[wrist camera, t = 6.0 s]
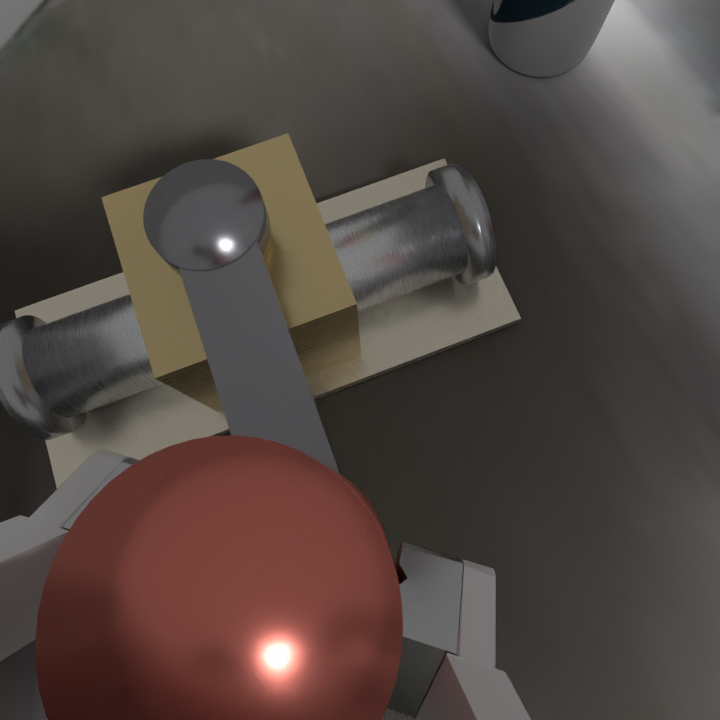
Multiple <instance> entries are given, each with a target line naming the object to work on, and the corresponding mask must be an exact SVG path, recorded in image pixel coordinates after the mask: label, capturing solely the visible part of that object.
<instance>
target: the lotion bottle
mask: <svg viewBox="0 0 720 720" xmlns="http://www.w3.org/2000/svg"><path fill="white" fill-rule="evenodd" d="M614 1H615V0H494V1H493V5H492V10H491V15H490V20H489V41H490V44H491V47H492V49H493V51H494V52H495V54H496V55H497V57H498V58H499V59H500V60H501V61H502V62H503V63H504V64H505V65H506V66H508V67H509V68H511V69H513V70H514V71H516V72H519V73H521V74H524V75H528V76H534V77H550V76H555V75H559V74H562V73H564V72H567V71H569V70H571V69H572V68H574V67H575V66H576V65H578V64H579V63H580V62H581V61H582V60H583V58H584V57H585V56H586V54H587V53H588V51H589V50H590V48H591V46H592V44H593V43H594V41H595V39H596V37H597V35H598V33H599V31H600V29H601V27H602V25H603V23H604V21H605V19H606V17H607V15H608V13H609V11H610V9H611V7H612V5H613V3H614Z"/></svg>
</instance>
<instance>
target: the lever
mask: <svg viewBox="0 0 720 720" xmlns="http://www.w3.org/2000/svg"><path fill="white" fill-rule="evenodd" d="M143 224H144V229H145V233H146V236H147V238H148V240H149V242H150V244H151V245H152V247H153V248H154V249H155V251H156V252H157V253H158V254H159V255H160V256H161V257H162V258H163V260H164V261H165V262H166V263H167V264H168V265H169V266H170V267H171V268H172V269H173V270H174V271H175V272H176V273H177V274H179V275H180V276H181V277H182V280H183V283H184V287H185V290H186V293H187V296H188V299H189V303H190V306H191V309H192V312H193V315H194V318H195V322H196V325H197V328H198V331H199V334H200V338H201V341H202V344H203V347H204V350H205V353H206V357H207V360H208V363H209V366H210V369H211V373H212V376H213V379H214V382H215V385H216V388H217V392H218V395H219V398H220V401H221V404H222V408H223V411H224V414H225V417H226V420H227V423H228V427H229V430H230V433H231V435H229V436H210V437H204V438H198V439H192V440H188V441H185V442H182V443H178V444H175V445H172V446H169V447H166V448H164V449H162V450H159V451H157V452H155V453H153V454H150V455H148V456H147V457H145V458H143V459H142V460H140V461H138V462H137V463H135V464H133V465H131V466H130V467H128V468H127V469H126V470H124V471H123V472H122V473H120V474H119V475H118V476H117V477H115V478H114V479H113V480H111V481H110V482H109V483H108V484H107V485H106V486H105V487H104V488H103V489H102V490H101V491H100V492H99V493H98V494H97V495H96V496H95V497H94V498H93V499H92V500H91V501H90V502H89V503H88V505H87V506H86V507H85V508H84V510H83V511H82V512H81V513H80V515H79V516H78V517H77V518H76V520H75V522H74V523H73V525H72V526H71V528H70V530H69V531H68V533H67V534H66V536H65V537H64V539H63V541H62V543H61V545H60V547H59V549H58V551H57V553H56V556H55V558H54V560H53V562H52V564H51V567H50V570H49V573H48V576H47V579H46V582H45V585H44V588H43V592H42V597H41V601H40V606H39V610H38V618H37V627H36V637H35V646H36V669H37V677H38V684H39V691H40V694H41V698H42V702H43V705H44V709H45V713H46V716H47V719H48V720H382V718H383V715H384V713H385V711H386V709H387V707H388V704H389V701H390V698H391V695H392V692H393V688H394V685H395V682H396V678H397V673H398V668H399V663H400V658H401V650H402V637H403V614H402V599H401V593H400V587H399V581H398V576H397V573H396V569H395V566H394V563H393V559H392V556H391V552H390V549H389V546H388V543H387V539H386V536H385V533H384V529H383V526H382V523H381V520H380V517H379V514H378V512H377V510H376V508H375V506H374V504H373V503H372V501H371V500H370V498H369V497H368V496H367V495H366V493H365V492H364V491H362V490H361V489H360V488H359V487H358V486H357V485H355V484H354V483H353V482H351V481H350V480H348V479H347V478H345V477H343V476H342V474H341V472H340V469H339V466H338V463H337V461H336V458H335V455H334V452H333V449H332V447H331V444H330V441H329V438H328V435H327V433H326V430H325V427H324V424H323V421H322V419H321V416H320V413H319V410H318V407H317V405H316V402H315V399H314V396H313V393H312V391H311V388H310V385H309V382H308V379H307V377H306V374H305V371H304V368H303V366H302V363H301V360H300V357H299V354H298V352H297V349H296V346H295V343H294V340H293V338H292V335H291V332H290V329H289V326H288V324H287V321H286V318H285V315H284V312H283V310H282V307H281V304H280V301H279V298H278V296H277V293H276V290H275V287H274V284H273V282H272V279H271V276H270V273H269V270H268V268H267V265H266V262H265V259H264V257H263V254H264V252H265V250H266V248H267V246H268V242H269V239H270V232H271V225H270V218H269V215H268V212H267V209H266V206H265V204H264V201H263V198H262V196H261V193H260V191H259V188H258V186H257V185H256V183H255V182H254V180H253V179H252V178H251V177H250V176H249V175H248V174H247V173H246V172H245V171H244V170H242V169H241V168H239V167H238V166H236V165H233V164H231V163H228V162H225V161H221V160H215V159H201V160H194V161H191V162H187V163H184V164H182V165H179V166H177V167H176V168H174V169H172V170H171V171H169V172H168V173H166V174H165V175H164V176H163V177H162V178H161V179H160V180H159V181H158V182H157V183H156V184H155V186H154V187H153V188H152V190H151V192H150V194H149V195H148V197H147V200H146V203H145V207H144V212H143Z"/></svg>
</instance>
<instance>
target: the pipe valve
mask: <svg viewBox="0 0 720 720" xmlns="http://www.w3.org/2000/svg"><path fill="white" fill-rule="evenodd" d="M214 159H215V160H221V161H225V162H228V163H231V164H233V165H236V166H238V167H239V168H241V169H242V170H244V171H245V172H246V173H247V174H248V175H249V176H250V177H251V178H252V179H253V180H254V182H255V183H256V185H257V186H258V188H259V191H260V193H261V196H262V198H263V201H264V204H265V206H266V209H267V212H268V215H269V218H270V225H271V232H270V239H269V242H268V246H267V248H266V250H265V252H264V254H263V257H264V259H265V262H266V265H267V268H268V270H269V273H270V276H271V279H272V282H273V284H274V287H275V290H276V293H277V296H278V298H279V301H280V304H281V307H282V310H283V312H284V315H285V318H286V321H287V324H288V326H289V329H290V332H291V335H292V338H293V340H294V343H295V346H296V349H297V352H298V354H299V357H300V360H301V363H302V366H303V368H304V371H305V374H306V377H307V379H308V382H309V385H310V388H311V391H312V393H313V396H314V399H315V400H316V399H319V398H322V397H324V396H327V395H330V394H332V393H335V392H338V391H340V390H343V389H346V388H348V387H351V386H353V385H356V384H359V383H361V382H364V381H367V380H369V379H372V378H375V377H377V376H380V375H382V374H385V373H388V372H390V371H393V370H396V369H398V368H401V367H404V366H406V365H409V364H411V363H414V362H417V361H419V360H422V359H425V358H427V357H430V356H433V355H435V354H438V353H440V352H443V351H446V350H448V349H451V348H454V347H456V346H459V345H462V344H464V343H467V342H469V341H472V340H475V339H477V338H480V337H483V336H485V335H488V334H491V333H493V332H496V331H498V330H501V329H504V328H506V327H509V326H512V325H514V324H517V323H518V321H519V320H520V319H521V317H520V315H519V313H518V311H517V309H516V307H515V305H514V302H513V300H512V298H511V296H510V294H509V292H508V290H507V288H506V286H505V284H504V282H503V279H502V277H501V275H500V273H499V271H498V269H497V267H496V260H497V250H496V239H495V234H494V228H493V224H492V220H491V217H490V213H489V210H488V207H487V205H486V202H485V199H484V197H483V195H482V193H481V190H480V188H479V187H478V185H477V183H476V181H475V180H474V178H473V177H472V175H471V174H470V172H469V171H468V170H467V169H466V168H465V167H464V166H463V165H461V164H459V163H451V164H448V165H447V162H446V160H445V158H444V159H441V160H438V161H435V162H432V163H430V164H427V165H424V166H421V167H418V168H415V169H413V170H410V171H407V172H404V173H401V174H398V175H396V176H393V177H390V178H387V179H384V180H382V181H379V182H376V183H373V184H370V185H367V186H365V187H362V188H359V189H356V190H353V191H351V192H348V193H345V194H342V195H339V196H336V197H334V198H331V199H328V200H325V201H322V202H320V203H316V201H315V198H314V196H313V194H312V191H311V189H310V186H309V184H308V181H307V179H306V176H305V174H304V171H303V169H302V166H301V164H300V161H299V159H298V156H297V154H296V151H295V149H294V146H293V144H292V141H291V139H290V136H289V134H288V133H287V134H284V135H281V136H278V137H275V138H273V139H270V140H267V141H264V142H261V143H258V144H255V145H252V146H249V147H246V148H244V149H241V150H238V151H235V152H232V153H229V154H226V155H223V156H220V157H217V158H214ZM162 177H163V176H162ZM162 177H159V178H156V179H154V180H151V181H148V182H145V183H142V184H139V185H136V186H133V187H130V188H127V189H124V190H122V191H119V192H116V193H113V194H110V195H107V196H104V197H101V198H102V201H103V205H104V208H105V211H106V215H107V218H108V222H109V225H110V228H111V232H112V235H113V238H114V242H115V245H116V249H117V252H118V255H119V259H120V262H121V266H122V269H123V272H122V273H119V274H116V275H114V276H111V277H108V278H105V279H102V280H99V281H97V282H94V283H91V284H88V285H85V286H83V287H80V288H77V289H74V290H71V291H68V292H66V293H63V294H60V295H57V296H54V297H52V298H49V299H46V300H43V301H40V302H37V303H35V304H32V305H29V306H26V307H23V308H21V309H18V310H15V315H16V318H15V319H12V320H10V321H7V322H4V323H1V324H0V401H1V402H2V404H3V406H4V407H5V409H6V410H7V411H8V413H9V414H10V416H11V417H12V418H13V419H14V420H15V421H16V423H17V424H18V425H19V426H21V427H22V428H23V429H24V430H25V431H26V432H28V433H29V434H31V435H32V436H34V437H37V438H39V439H43V440H45V441H46V445H47V449H48V453H49V458H50V462H51V466H52V470H53V475H54V479H55V483H56V487H57V489H58V488H59V487H60V486H61V485H62V484H63V483H64V482H65V481H66V480H67V479H68V478H69V477H70V476H71V475H72V474H73V473H74V472H75V471H76V470H77V469H78V468H79V467H80V466H81V465H82V464H83V463H84V462H85V461H86V460H87V459H88V458H89V457H90V456H91V455H92V454H93V453H95V452H97V451H99V450H101V449H106V450H109V451H112V452H115V453H118V454H121V455H124V456H127V457H131V458H134V459H137V460H142V459H143V458H145V457H147V456H148V455H150V454H153V453H155V452H157V451H159V450H162V449H164V448H166V447H169V446H172V445H175V444H178V443H182V442H185V441H188V440H192V439H198V438H204V437H210V436H222V435H224V434H227V433H229V432H230V430H229V427H228V423H227V420H226V417H225V414H224V411H223V408H222V404H221V401H220V398H219V395H218V392H217V388H216V385H215V382H214V379H213V376H212V373H211V369H210V366H209V363H208V360H207V357H206V353H205V350H204V347H203V344H202V341H201V338H200V334H199V331H198V328H197V325H196V322H195V318H194V315H193V312H192V309H191V306H190V303H189V299H188V296H187V293H186V290H185V287H184V283H183V280H182V277H181V276H180V275H179V274H177V273H176V272H175V271H174V270H173V269H172V268H171V267H170V266H169V265H168V264H167V263H166V262H165V261H164V260H163V258H162V257H161V256H160V255H159V254H158V253H157V252H156V251H155V249H154V248H153V247H152V245H151V244H150V242H149V240H148V238H147V236H146V233H145V229H144V224H143V212H144V207H145V203H146V200H147V197H148V195H149V194H150V192H151V190H152V188H153V187H154V186H155V184H156V183H157V182H158V181H159V180H160V179H161V178H162Z"/></svg>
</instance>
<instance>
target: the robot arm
mask: <svg viewBox="0 0 720 720" xmlns="http://www.w3.org/2000/svg"><path fill="white" fill-rule="evenodd" d="M138 461H140V460H137V459H134V458H131V457H127V456H124V455H121V454H118V453H115V452H112V451H109V450H106V449H101V450H99V451H97V452H95V453H93V454H92V455H91V456H90V457H89V458H88V459H87V460H86V461H85V462H84V463H83V464H82V465H81V466H80V467H79V468H78V469H77V470H76V471H75V472H74V473H73V474H72V475H71V476H70V477H69V478H68V479H67V480H66V481H65V482H64V483H63V484H62V485H61V486H60V487H59V488H58V489H57V490H56V491H55V492H54V493H53V494H52V495H51V496H50V497H49V498H48V499H47V500H46V501H45V502H44V503H43V504H42V505H41V506H40V507H39V508H38V509H37V510H36V511H35V512H34V513H33V514H32V515H31V516H30V517H26V516H22V515H19V516H16V517H14V518H11V519H9V520H6V521H3V522H1V523H0V661H2V660H3V659H5V658H7V657H8V656H10V655H11V654H13V653H14V652H16V651H18V650H19V649H21V648H22V647H24V646H25V645H27V644H29V643H30V642H32V641H33V640H35V637H36V627H37V618H38V610H39V606H40V601H41V597H42V592H43V588H44V585H45V582H46V579H47V576H48V573H49V570H50V567H51V564H52V562H53V560H54V558H55V556H56V553H57V551H58V549H59V547H60V545H61V543H62V541H63V539H64V537H65V536H66V534H67V533H68V531H69V530H70V528H71V526H72V525H73V523H74V522H75V520H76V518H77V517H78V516H79V515H80V513H81V512H82V511H83V510H84V508H85V507H86V506H87V505H88V503H89V502H90V501H91V500H92V499H93V498H94V497H95V496H96V495H97V494H98V493H99V492H100V491H101V490H102V489H103V488H104V487H105V486H106V485H107V484H108V483H109V482H110V481H111V480H113V479H114V478H115V477H117V476H118V475H119V474H120V473H122V472H123V471H124V470H126V469H127V468H128V467H130V466H131V465H133V464H135V463H137V462H138ZM395 569H396V573H397V576H398V581H399V587H400V593H401V599H402V614H403V637H402V650H401V658H400V663H399V668H398V673H397V678H396V682H395V685H394V688H393V692H392V695H391V698H390V701H389V704H388V707H387V708H388V709H391V710H393V711H396V712H399V713H402V714H404V715H407V716H410V717H412V718H415V720H531V718H530V716H529V715H528V713H527V711H526V709H525V707H524V705H523V703H522V702H521V700H520V698H519V696H518V694H517V692H516V691H515V689H514V687H513V685H512V683H511V681H510V679H509V678H508V676H507V674H506V672H504V671H502V670H499V669H496V668H495V664H496V574H495V572H494V569H493V568H490V567H487V566H483V565H480V564H477V563H473V562H470V561H467V560H464V559H463V560H461V558H458V557H455V556H452V555H448V554H445V553H441V552H438V551H434V550H431V549H428V548H424V547H421V546H417V545H414V544H411V543H407V542H404V541H402V543H401V545H400V548H399V551H398V554H397V557H396V562H395Z"/></svg>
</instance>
